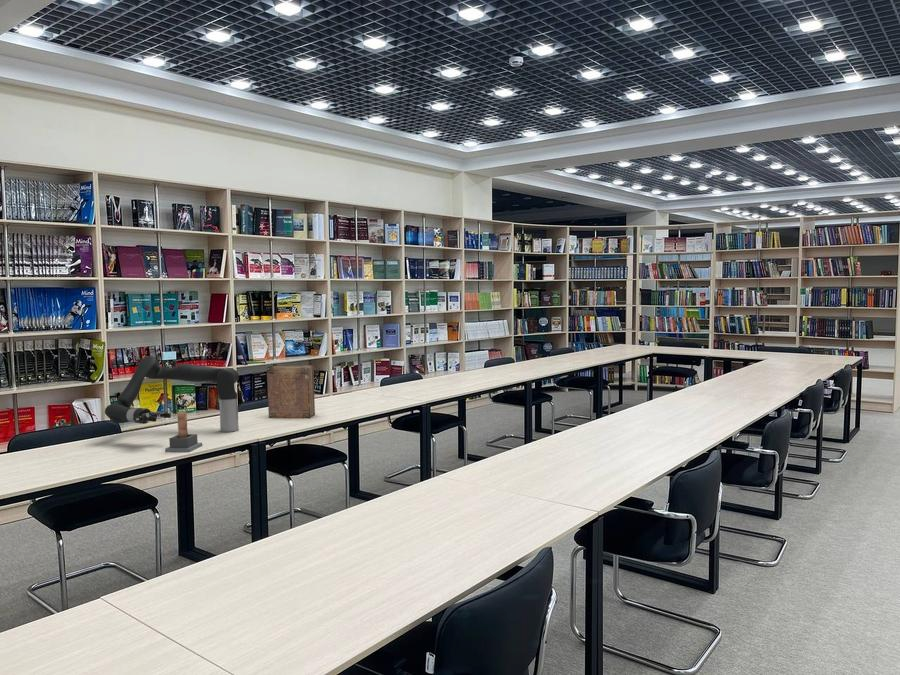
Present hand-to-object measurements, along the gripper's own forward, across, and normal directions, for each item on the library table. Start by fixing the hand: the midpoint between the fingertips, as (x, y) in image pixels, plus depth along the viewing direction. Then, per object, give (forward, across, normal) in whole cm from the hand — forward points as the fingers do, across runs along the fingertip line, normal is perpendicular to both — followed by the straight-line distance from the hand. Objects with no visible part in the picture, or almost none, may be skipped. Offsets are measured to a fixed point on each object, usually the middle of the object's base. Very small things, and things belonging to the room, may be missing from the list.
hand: (163, 417), depth 306 cm
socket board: (+12, 0, -14) cm, 19 cm away
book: (+11, -82, -16) cm, 85 cm away
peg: (+12, 0, -13) cm, 18 cm away
